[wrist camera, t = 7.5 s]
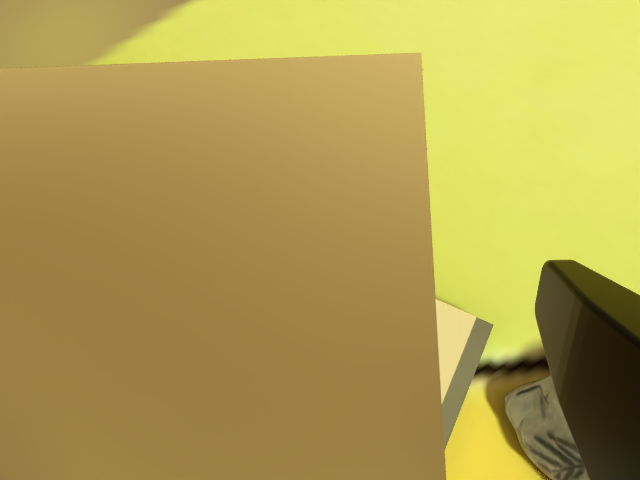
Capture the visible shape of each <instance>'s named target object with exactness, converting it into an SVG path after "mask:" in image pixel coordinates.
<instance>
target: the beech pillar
mask: <svg viewBox="0 0 640 480" xmlns="http://www.w3.org/2000/svg"><path fill="white" fill-rule="evenodd" d="M0 480H446V470H445V453H444V436H443V419H442V402H441V385H440V368H439V351H438V334H437V316H436V299H435V282H434V265H433V248H432V231H431V214H430V197H429V180H428V163H427V146H426V129H425V112H424V94H423V77H422V60H421V53H401V54H374V55H348V56H321V57H295V58H268V59H241V60H215V61H188V62H162V63H135V64H109V65H82V66H56V67H30V68H3V69H0Z"/></svg>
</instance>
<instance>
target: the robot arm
mask: <svg viewBox="0 0 640 480" xmlns="http://www.w3.org/2000/svg"><path fill="white" fill-rule="evenodd" d="M535 315H536V320H537V324H538V328H539V332H540V335H541V339H542V343H543V347H544V351H545V354H546V358H547V362H548V366H549V369H550V373H551V377H552V381H553V384H554V388H555V391H556V395H557V398H558V401H559V404H560V407H561V409H562V412H563V415H564V417H565V420H566V422H567V425H568V427H569V430H570V432H571V435H572V437H573V440H574V442H575V445H576V447H577V450H578V452H579V454H580V457H581V459H582V462H583V464H584V467H585V469H586V472H587V474H588V477H589V479H590V480H640V295H638V294H636V293H635V292H633V291H631V290H629V289H627V288H625V287H623V286H621V285H619V284H618V283H616V282H614V281H612V280H610V279H608V278H606V277H604V276H602V275H600V274H599V273H597V272H595V271H593V270H591V269H589V268H587V267H585V266H583V265H582V264H580V263H578V262H576V261H574V260H548V261H546V262H545V263H544V265H543V267H542V271H541V276H540V281H539V286H538V292H537V297H536V302H535Z"/></svg>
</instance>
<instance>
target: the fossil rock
mask: <svg viewBox="0 0 640 480" xmlns="http://www.w3.org/2000/svg"><path fill="white" fill-rule="evenodd" d="M504 401H505V410H506V414H507V417H508V418H509V420H510V422H511V424H512V426H513V428H514V429H515V431H516V433H517V437H518V440H519V444H520V446H521V447H522V449H523V450H524V452H525V453H526V455H527V457H528V458H529V459H530V460H531V461H532V462H533V463H534V464H535V465H536V466H537V467H538V468H539V469H540V470H541V471H542V472H543V473H544V474H545V475H547V476H548V477H549V478H550V479H551V480H590V479H589V477H588V474H587V472H586V469H585V467H584V464H583V462H582V459H581V457H580V454H579V452H578V450H577V447H576V445H575V442H574V440H573V437H572V435H571V432H570V430H569V427H568V425H567V422H566V420H565V417H564V415H563V412H562V409H561V407H560V404H559V401H558V398H557V395H556V391H555V388H554V384H553V381H552V377H551V375H549V376H547V377H545V378H543V379H541V380H539V381H534V382H529V383H526V384H524V385H522V386H520V387H518V388H516V389H514V390H512V391H510V392H508V393H507V394H506V395H505V397H504Z"/></svg>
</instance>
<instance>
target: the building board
mask: <svg viewBox="0 0 640 480" xmlns="http://www.w3.org/2000/svg"><path fill="white" fill-rule="evenodd" d="M436 316H437V334H438V351H439V368H440V385H441V402H442V419H443V436H444V450H445V448H446V445H447V443H448V440H449V438H450V435H451V432H452V430H453V427H454V425H455V422H456V420H457V417H458V414H459V412H460V409H461V407H462V404H463V402H464V399H465V396H466V394H467V391H468V389H469V386H470V384H471V381H472V379H473V376H474V373H475V371H476V368H477V366H478V363H479V361H480V358H481V355H482V353H483V350H484V348H485V345H486V343H487V340H488V337H489V335H490V332H491V330H492V327H493V324H490V323H488V322H486V321H484V320H481V319H479V318H477V317H476V316H473V315H471V314H469V313H466V312H464V311H462V310H460V309H457V308H455V307H453V306H451V305H448V304H446V303H444V302H441V301H439V300H437V299H436Z"/></svg>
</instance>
